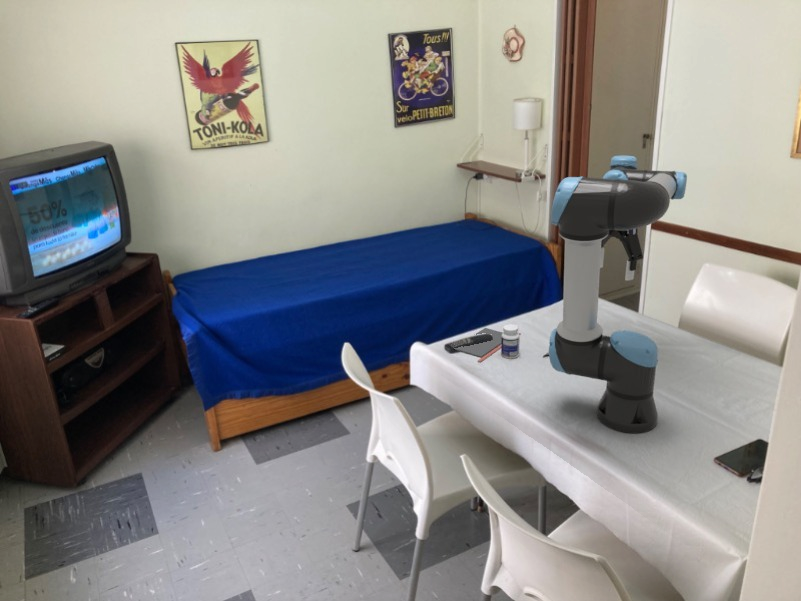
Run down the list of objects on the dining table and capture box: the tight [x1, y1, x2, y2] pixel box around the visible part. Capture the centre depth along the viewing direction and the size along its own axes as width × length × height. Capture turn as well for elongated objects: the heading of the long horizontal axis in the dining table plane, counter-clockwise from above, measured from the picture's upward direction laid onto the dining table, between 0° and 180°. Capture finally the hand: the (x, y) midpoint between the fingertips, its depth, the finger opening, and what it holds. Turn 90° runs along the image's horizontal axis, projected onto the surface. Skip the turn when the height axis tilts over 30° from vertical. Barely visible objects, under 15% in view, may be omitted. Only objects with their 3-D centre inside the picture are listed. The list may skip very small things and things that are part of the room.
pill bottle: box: [500, 324, 520, 360], centre depth 207 cm, size 6×6×10 cm
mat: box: [453, 327, 504, 359], centre depth 218 cm, size 20×11×1 cm, turn 141°
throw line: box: [477, 332, 522, 363], centre depth 214 cm, size 26×1×1 cm, turn 141°
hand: (613, 273), depth 204 cm, fingers open, 13 cm apart
